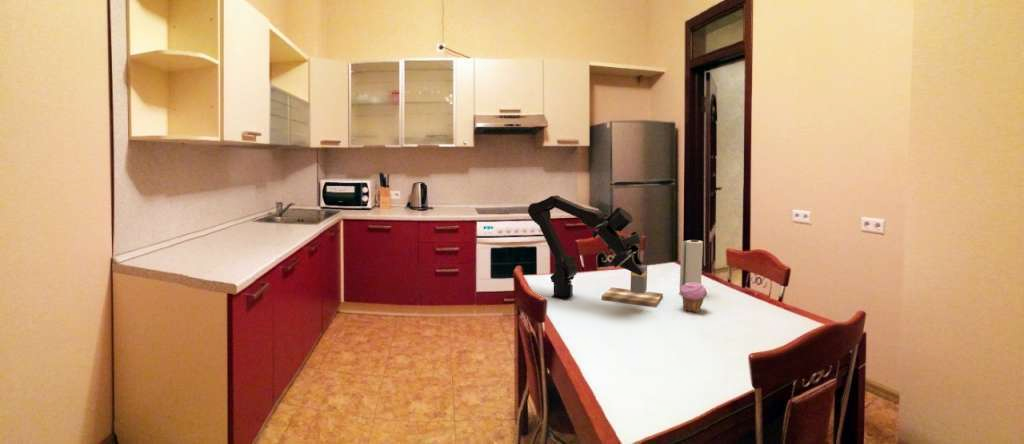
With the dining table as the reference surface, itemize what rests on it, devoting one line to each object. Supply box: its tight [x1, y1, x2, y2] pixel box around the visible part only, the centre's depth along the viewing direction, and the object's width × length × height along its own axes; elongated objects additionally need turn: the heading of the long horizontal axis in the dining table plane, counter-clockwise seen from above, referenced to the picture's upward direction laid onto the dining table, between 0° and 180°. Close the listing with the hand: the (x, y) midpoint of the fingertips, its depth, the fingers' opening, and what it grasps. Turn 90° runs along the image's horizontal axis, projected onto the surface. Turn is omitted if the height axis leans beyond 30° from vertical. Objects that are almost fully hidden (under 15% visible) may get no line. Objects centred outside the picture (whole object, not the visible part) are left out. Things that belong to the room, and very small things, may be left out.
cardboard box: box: [601, 286, 664, 308], centre depth 174 cm, size 20×13×2 cm, turn 62°
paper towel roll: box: [678, 239, 704, 296], centre depth 177 cm, size 7×6×21 cm
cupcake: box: [679, 282, 708, 313], centre depth 160 cm, size 9×9×10 cm
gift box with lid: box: [629, 264, 648, 294], centre depth 160 cm, size 5×5×9 cm
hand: (643, 273), depth 159 cm, fingers closed on gift box with lid, 5 cm apart
